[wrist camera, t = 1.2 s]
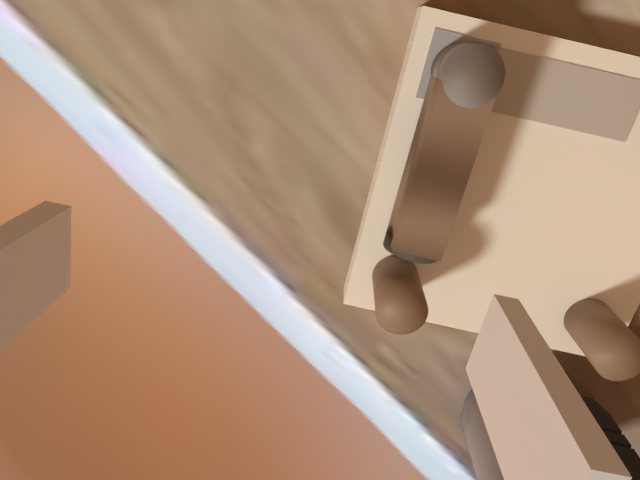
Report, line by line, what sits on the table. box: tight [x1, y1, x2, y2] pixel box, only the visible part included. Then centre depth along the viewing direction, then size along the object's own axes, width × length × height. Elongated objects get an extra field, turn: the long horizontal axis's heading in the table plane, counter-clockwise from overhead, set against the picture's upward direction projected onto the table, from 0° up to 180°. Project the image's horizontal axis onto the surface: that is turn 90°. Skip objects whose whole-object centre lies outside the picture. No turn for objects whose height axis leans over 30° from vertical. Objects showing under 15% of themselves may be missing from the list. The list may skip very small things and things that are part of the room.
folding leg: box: [383, 42, 505, 264], centre depth 30 cm, size 13×4×4 cm, turn 168°
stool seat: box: [344, 6, 640, 381], centre depth 32 cm, size 20×20×8 cm
